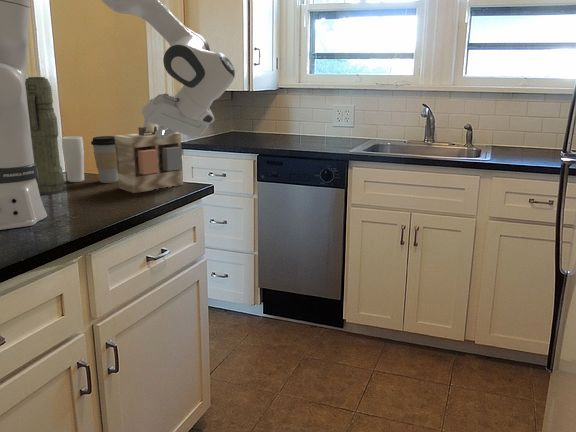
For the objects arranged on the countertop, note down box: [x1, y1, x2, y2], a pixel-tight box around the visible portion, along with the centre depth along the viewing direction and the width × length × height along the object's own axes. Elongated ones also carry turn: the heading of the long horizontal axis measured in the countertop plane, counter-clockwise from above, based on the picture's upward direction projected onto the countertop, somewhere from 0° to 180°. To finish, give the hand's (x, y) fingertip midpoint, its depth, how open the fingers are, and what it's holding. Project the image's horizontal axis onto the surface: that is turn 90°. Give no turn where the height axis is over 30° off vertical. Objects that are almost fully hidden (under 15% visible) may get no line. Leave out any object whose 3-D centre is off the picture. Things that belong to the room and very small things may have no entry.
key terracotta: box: [136, 149, 158, 174], centre depth 176 cm, size 5×7×7 cm
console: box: [114, 125, 184, 194], centre depth 182 cm, size 18×10×19 cm, turn 133°
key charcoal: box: [160, 146, 183, 171], centre depth 182 cm, size 5×7×7 cm
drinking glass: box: [61, 135, 85, 183], centre depth 192 cm, size 7×7×15 cm
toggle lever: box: [142, 98, 156, 134], centre depth 177 cm, size 3×2×12 cm
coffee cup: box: [90, 135, 118, 184], centre depth 192 cm, size 9×9×15 cm
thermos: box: [25, 76, 65, 195], centre depth 174 cm, size 9×12×35 cm
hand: (159, 136), depth 160 cm, fingers closed
